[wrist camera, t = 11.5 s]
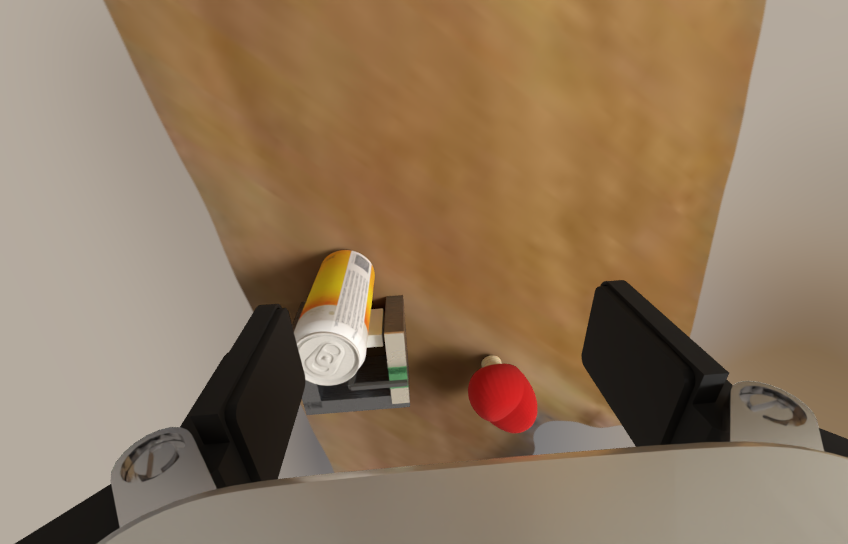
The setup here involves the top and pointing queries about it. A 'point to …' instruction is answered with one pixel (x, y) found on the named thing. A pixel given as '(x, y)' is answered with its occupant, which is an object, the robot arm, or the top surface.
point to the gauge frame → (368, 373)
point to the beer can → (336, 319)
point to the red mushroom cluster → (503, 396)
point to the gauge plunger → (375, 341)
